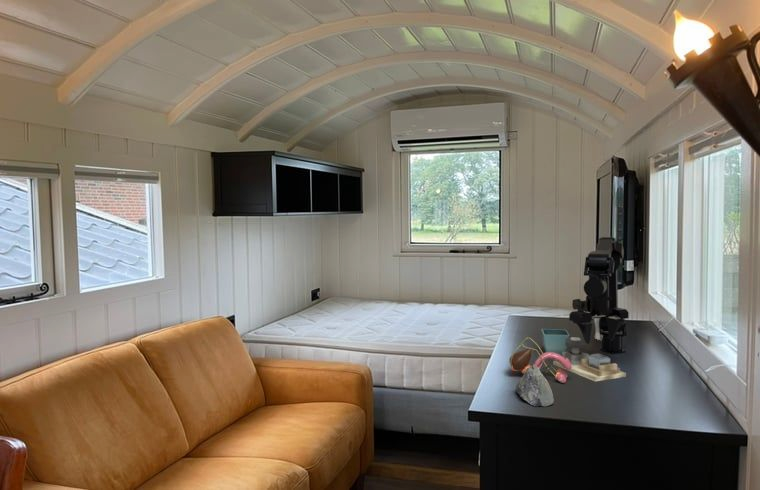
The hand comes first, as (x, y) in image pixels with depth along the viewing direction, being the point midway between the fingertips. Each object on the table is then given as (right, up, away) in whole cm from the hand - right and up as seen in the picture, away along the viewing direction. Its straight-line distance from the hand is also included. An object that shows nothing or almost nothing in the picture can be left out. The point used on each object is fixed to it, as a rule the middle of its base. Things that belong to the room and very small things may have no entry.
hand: (599, 342), depth 169 cm
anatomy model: (-19, -11, -2) cm, 22 cm away
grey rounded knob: (-3, -6, +11) cm, 13 cm away
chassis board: (-1, -10, +5) cm, 12 cm away
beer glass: (+20, -7, +46) cm, 51 cm away
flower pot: (-6, -10, +23) cm, 25 cm away
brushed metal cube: (0, -9, +1) cm, 9 cm away
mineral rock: (-26, -13, -19) cm, 35 cm away
